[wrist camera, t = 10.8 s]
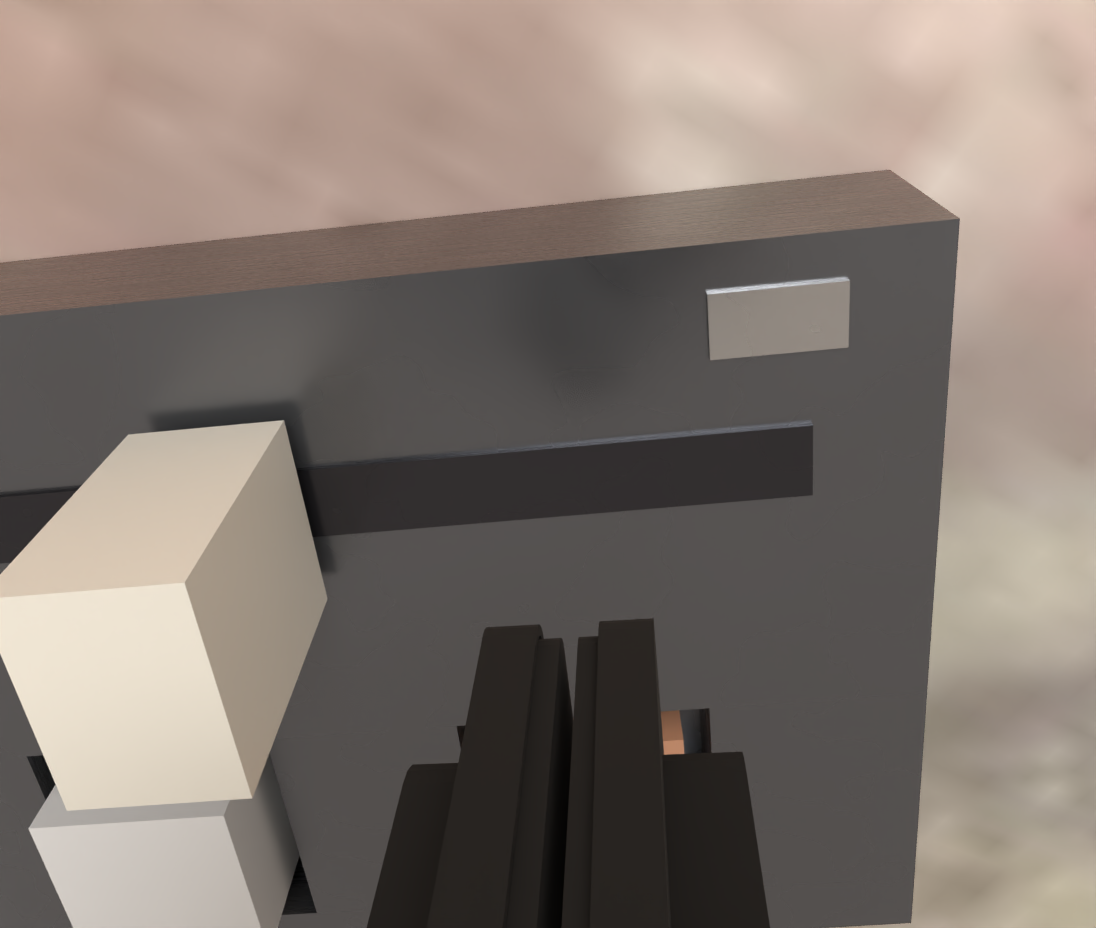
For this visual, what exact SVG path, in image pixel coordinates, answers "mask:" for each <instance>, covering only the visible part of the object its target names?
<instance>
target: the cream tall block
mask: <svg viewBox="0 0 1096 928" xmlns="http://www.w3.org/2000/svg"><path fill="white" fill-rule="evenodd" d="M326 602H327V595H326V590H325V586H324V582H323V578H322V574H321V570H320V566H319V562H318V558H317V554H316V549H315V545H314V541H313V537H312V533H311V529H310V525H309V521H308V517H307V512H306V508H305V504H304V500H303V496H302V492H301V488H300V484H299V480H298V476H297V471H296V467H295V463H294V459H293V455H292V451H291V447H290V443H289V439H288V434H287V430H286V426H285V422H284V420H281V421H270V422H259V423H248V424H237V425H226V426H216V427H205V428H194V429H183V430H172V431H161V432H150V433H140V434H129V435H127V437H126V438H125V439H124V440H123V441H122V442H121V443H120V444H119V445H118V446H117V447H116V449H115V450H114V451H113V452H112V453H111V454H110V455H109V456H108V457H107V458H106V459H105V461H104V462H103V463H102V464H101V465H100V466H99V467H98V468H97V469H96V470H95V471H94V473H93V474H92V475H91V476H90V477H89V478H88V479H87V480H86V481H85V482H84V484H83V485H82V486H81V487H80V488H79V489H78V490H77V491H76V492H75V493H74V494H73V496H72V497H71V498H70V499H69V500H68V501H67V502H66V503H65V504H64V505H63V506H62V508H61V509H60V510H59V511H58V512H57V513H56V514H55V515H54V516H53V517H52V518H51V520H50V521H49V522H48V523H47V524H46V525H45V526H44V527H43V528H42V529H41V531H40V532H39V533H38V534H37V535H36V536H35V537H34V538H33V539H32V540H31V541H30V543H29V544H28V545H27V546H26V547H25V548H24V549H23V550H22V551H21V552H20V553H19V555H18V556H17V557H16V558H15V559H14V560H13V561H12V562H11V563H10V564H9V565H8V567H7V568H6V569H5V570H4V571H3V572H2V573H1V574H0V654H1V657H2V659H3V662H4V664H5V666H6V669H7V671H8V673H9V676H10V678H11V680H12V683H13V685H14V687H15V690H16V692H17V694H18V697H19V699H20V702H21V704H22V706H23V709H24V711H25V713H26V716H27V718H28V720H29V723H30V725H31V727H32V730H33V732H34V735H35V737H36V739H37V742H38V744H39V746H40V749H41V751H42V753H43V756H44V758H45V760H46V763H47V765H48V768H49V770H50V772H51V775H52V777H53V779H54V782H55V784H56V786H57V789H58V791H59V793H60V796H61V798H62V800H63V803H64V805H65V808H66V810H67V811H71V810H86V809H101V808H116V807H131V806H146V805H161V804H176V803H191V802H206V801H221V800H236V799H251V798H253V795H254V793H255V790H256V787H257V785H258V782H259V779H260V777H261V774H262V771H263V769H264V766H265V764H266V761H267V758H268V756H269V753H270V750H271V748H272V745H273V742H274V740H275V737H276V734H277V732H278V729H279V726H280V724H281V721H282V718H283V716H284V713H285V711H286V708H287V705H288V703H289V700H290V697H291V695H292V692H293V689H294V687H295V684H296V681H297V679H298V676H299V673H300V671H301V668H302V665H303V663H304V660H305V658H306V655H307V652H308V650H309V647H310V644H311V642H312V639H313V636H314V634H315V631H316V628H317V626H318V623H319V620H320V618H321V615H322V612H323V610H324V607H325V604H326Z"/></svg>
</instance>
